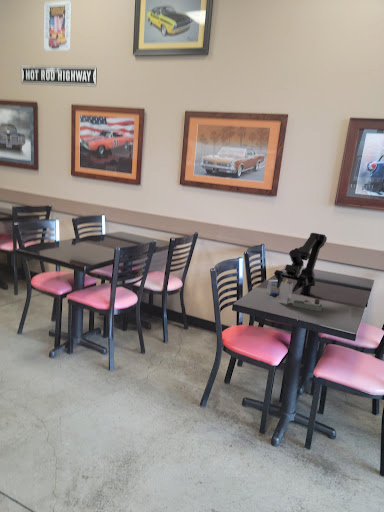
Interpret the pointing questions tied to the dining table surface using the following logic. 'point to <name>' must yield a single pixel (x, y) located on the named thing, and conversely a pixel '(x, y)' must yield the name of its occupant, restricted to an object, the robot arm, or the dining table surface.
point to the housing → (285, 292)
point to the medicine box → (273, 287)
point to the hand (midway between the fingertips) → (285, 289)
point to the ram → (313, 302)
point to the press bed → (301, 304)
